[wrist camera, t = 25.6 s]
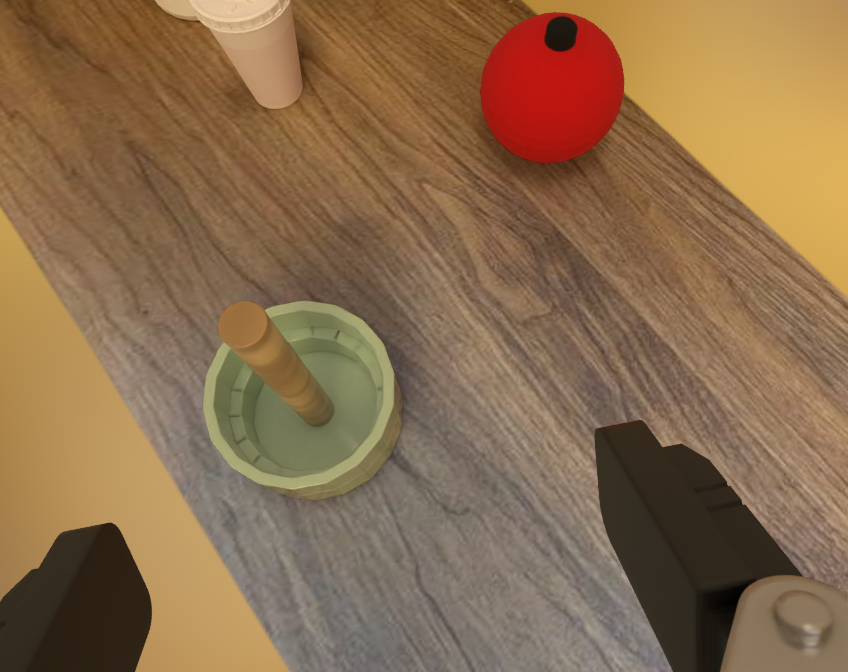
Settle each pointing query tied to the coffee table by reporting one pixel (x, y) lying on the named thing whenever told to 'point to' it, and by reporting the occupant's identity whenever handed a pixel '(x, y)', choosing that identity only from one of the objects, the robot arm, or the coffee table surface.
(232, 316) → the stick
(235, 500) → the coffee table surface
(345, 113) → the coffee table surface
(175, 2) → the mug
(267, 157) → the coffee table surface
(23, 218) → the coffee table surface
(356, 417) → the bowl
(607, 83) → the ornament
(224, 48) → the smoothie
